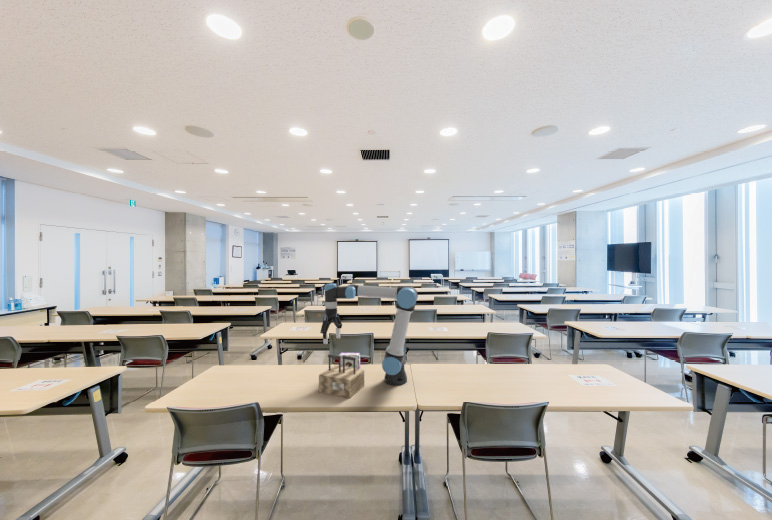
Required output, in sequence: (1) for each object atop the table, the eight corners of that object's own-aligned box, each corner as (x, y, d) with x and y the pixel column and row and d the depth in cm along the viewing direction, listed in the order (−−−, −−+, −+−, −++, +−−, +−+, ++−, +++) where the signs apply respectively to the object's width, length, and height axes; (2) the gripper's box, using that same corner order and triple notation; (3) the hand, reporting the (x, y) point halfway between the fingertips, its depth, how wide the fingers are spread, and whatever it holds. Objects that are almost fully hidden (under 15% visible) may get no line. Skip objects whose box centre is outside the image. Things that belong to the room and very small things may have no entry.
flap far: (363, 370, 202) (363, 353, 201) (356, 376, 193) (356, 358, 193) (335, 366, 211) (334, 349, 210) (327, 371, 202) (326, 354, 202)
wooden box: (364, 386, 202) (364, 370, 202) (349, 398, 186) (349, 381, 185) (335, 380, 211) (335, 366, 211) (318, 392, 195) (318, 375, 194)
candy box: (360, 376, 219) (360, 352, 219) (359, 379, 213) (358, 355, 213) (341, 375, 220) (340, 352, 220) (339, 378, 215) (338, 354, 214)
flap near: (357, 375, 194) (357, 357, 194) (349, 381, 186) (349, 362, 185) (327, 370, 203) (327, 353, 203) (319, 375, 195) (318, 358, 194)
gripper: (337, 304, 215) (338, 335, 216) (313, 310, 193) (314, 345, 193) (346, 305, 212) (347, 336, 212) (323, 311, 189) (324, 346, 190)
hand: (332, 340), depth 203 cm, fingers open, 13 cm apart
